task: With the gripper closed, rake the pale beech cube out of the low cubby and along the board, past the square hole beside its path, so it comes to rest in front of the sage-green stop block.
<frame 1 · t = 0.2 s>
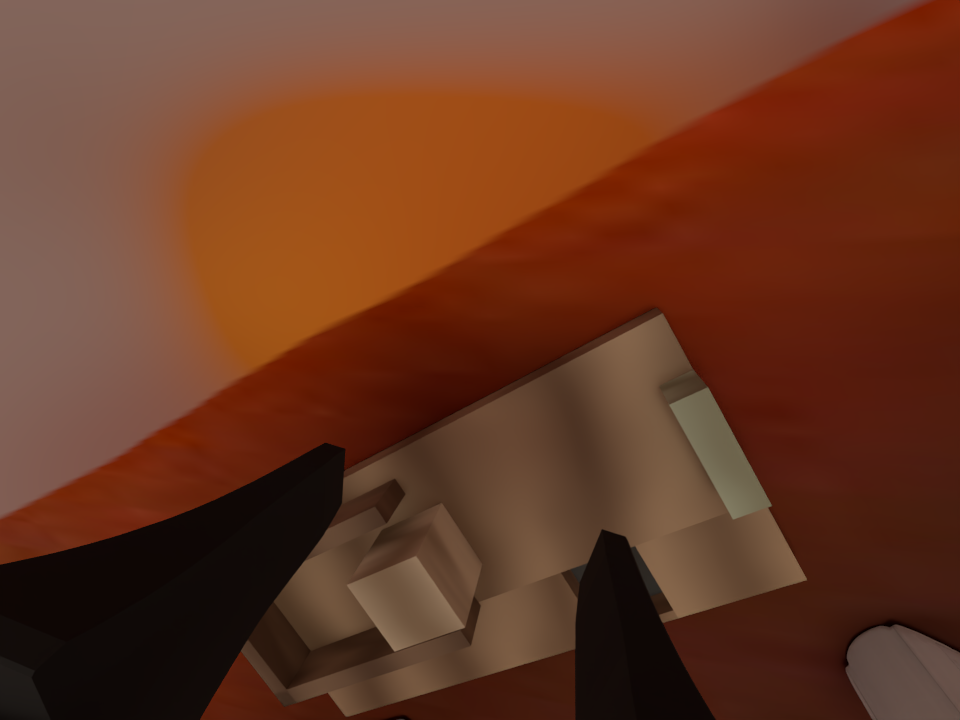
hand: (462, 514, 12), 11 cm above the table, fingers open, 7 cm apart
cube: (431, 546, 24), point 1 cm above the table, touching board
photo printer: (946, 681, 22), on the table
board: (490, 535, 25), on the table
cubby: (378, 555, 27), resting on board
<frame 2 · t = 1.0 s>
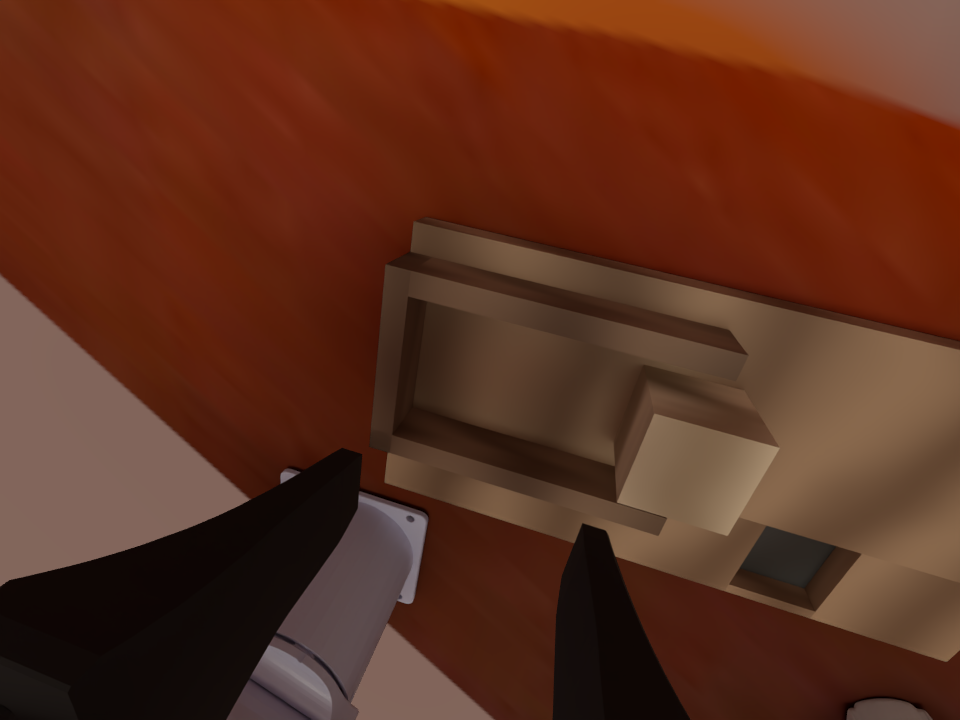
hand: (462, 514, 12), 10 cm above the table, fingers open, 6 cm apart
cube: (675, 417, 19), point 1 cm above the table, touching board
board: (713, 442, 21), on the table
cubby: (572, 374, 21), resting on board
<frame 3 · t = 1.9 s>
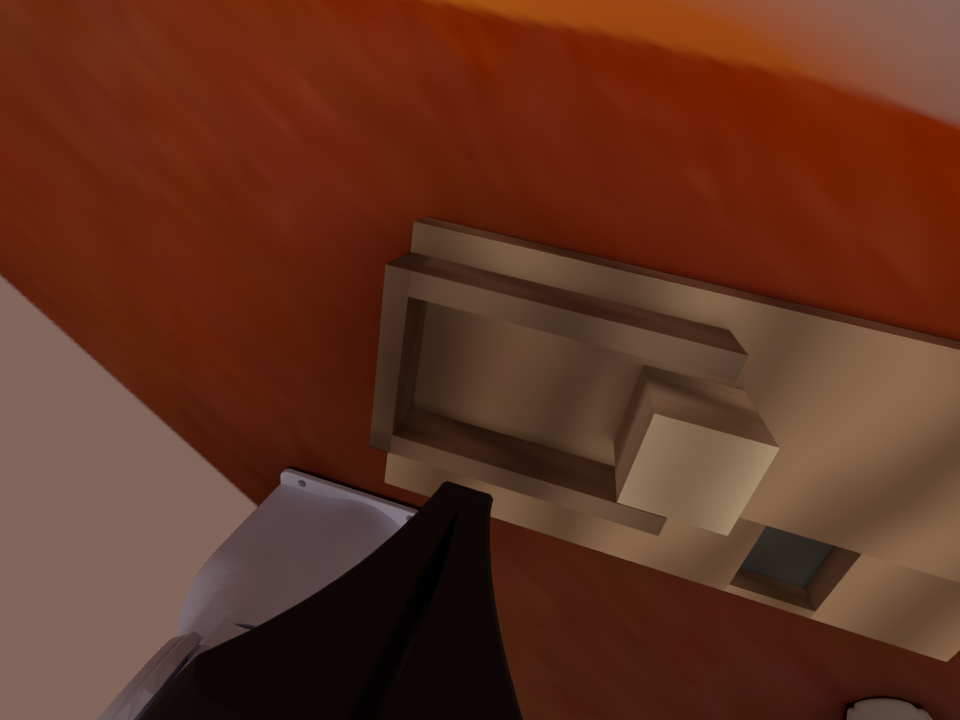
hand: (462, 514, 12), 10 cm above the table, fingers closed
cube: (675, 417, 19), point 1 cm above the table, touching board
board: (713, 442, 21), on the table
cubby: (572, 374, 21), resting on board
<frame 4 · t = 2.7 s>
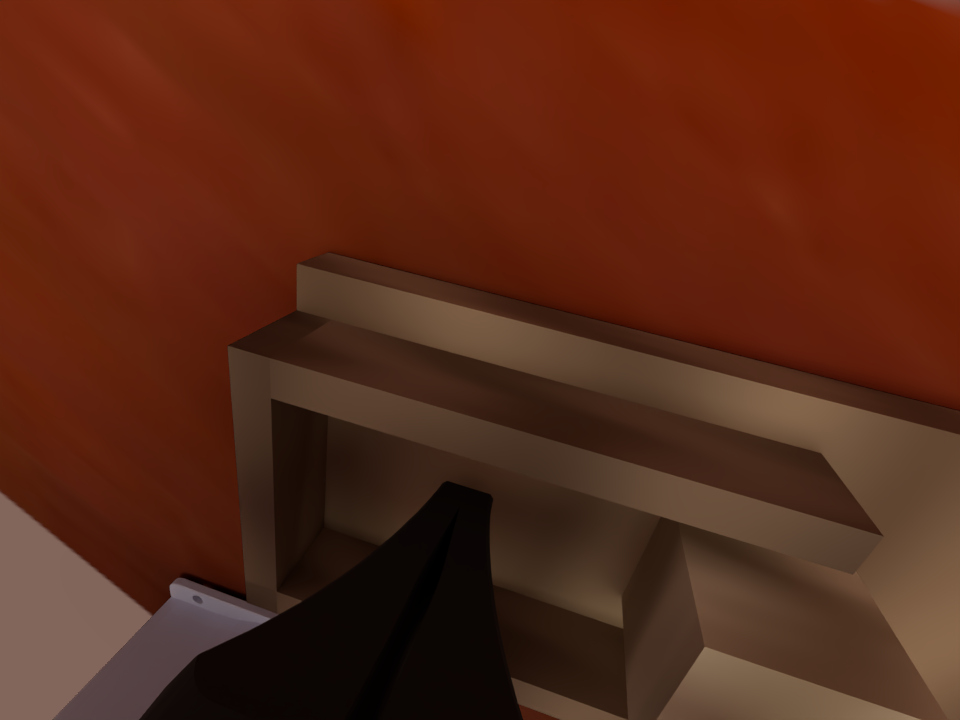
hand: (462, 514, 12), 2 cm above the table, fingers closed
cube: (720, 573, 12), point 1 cm above the table, touching board
board: (772, 592, 14), on the table
cubby: (559, 486, 14), resting on board
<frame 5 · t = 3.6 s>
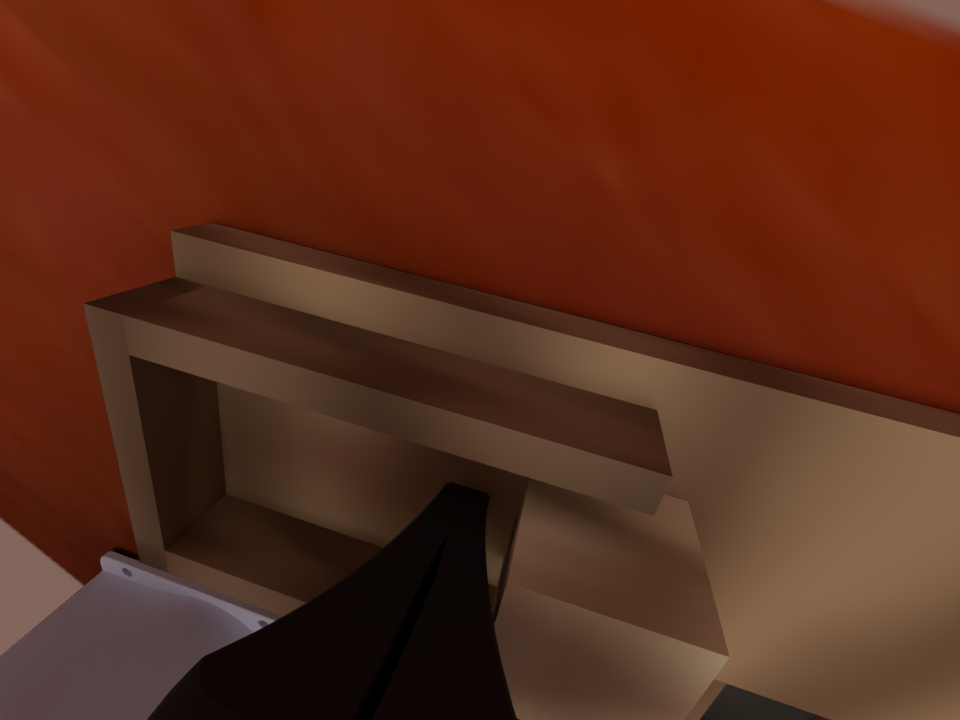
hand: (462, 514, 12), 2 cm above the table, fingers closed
cube: (587, 533, 13), point 2 cm above the table, touching gripper
board: (650, 555, 14), on the table
cubby: (447, 453, 15), resting on board
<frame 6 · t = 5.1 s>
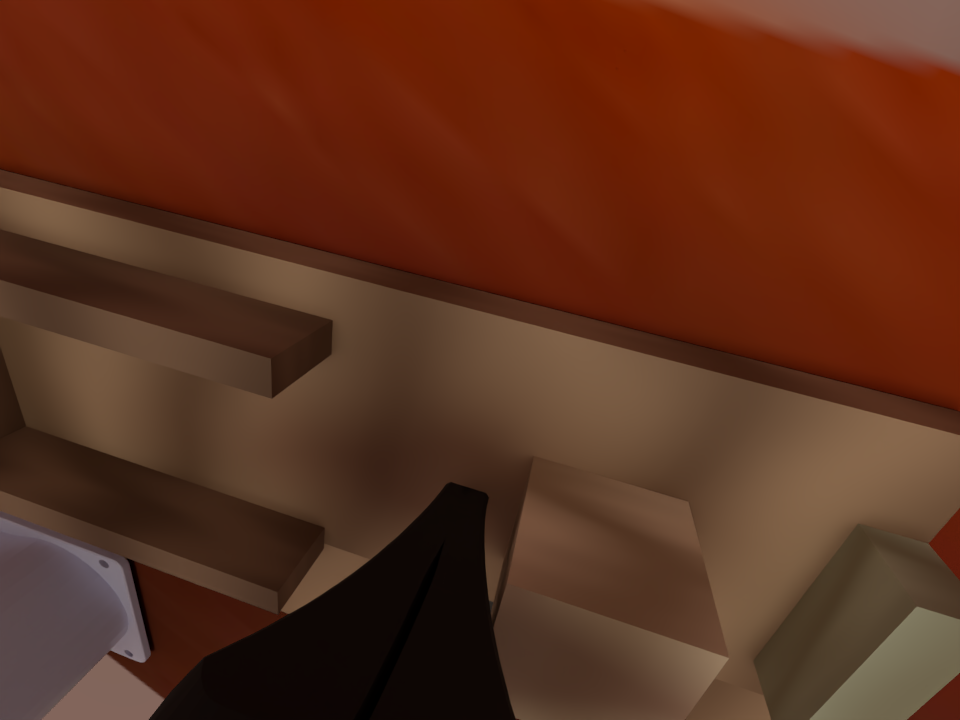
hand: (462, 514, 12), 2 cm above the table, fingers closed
cube: (587, 533, 13), point 1 cm above the table, touching board, gripper
board: (403, 476, 15), on the table
cubby: (218, 383, 16), resting on board
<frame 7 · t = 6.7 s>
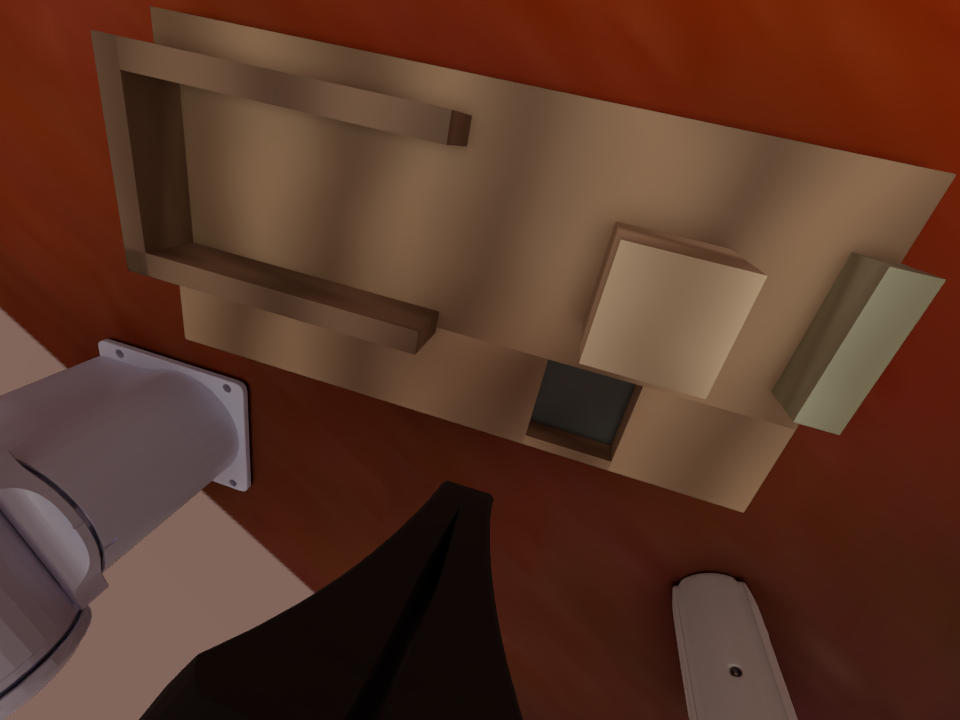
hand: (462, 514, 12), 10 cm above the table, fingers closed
cube: (651, 288, 17), point 1 cm above the table, touching board
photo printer: (721, 634, 25), on the table
board: (499, 275, 20), on the table
cubby: (353, 202, 20), resting on board
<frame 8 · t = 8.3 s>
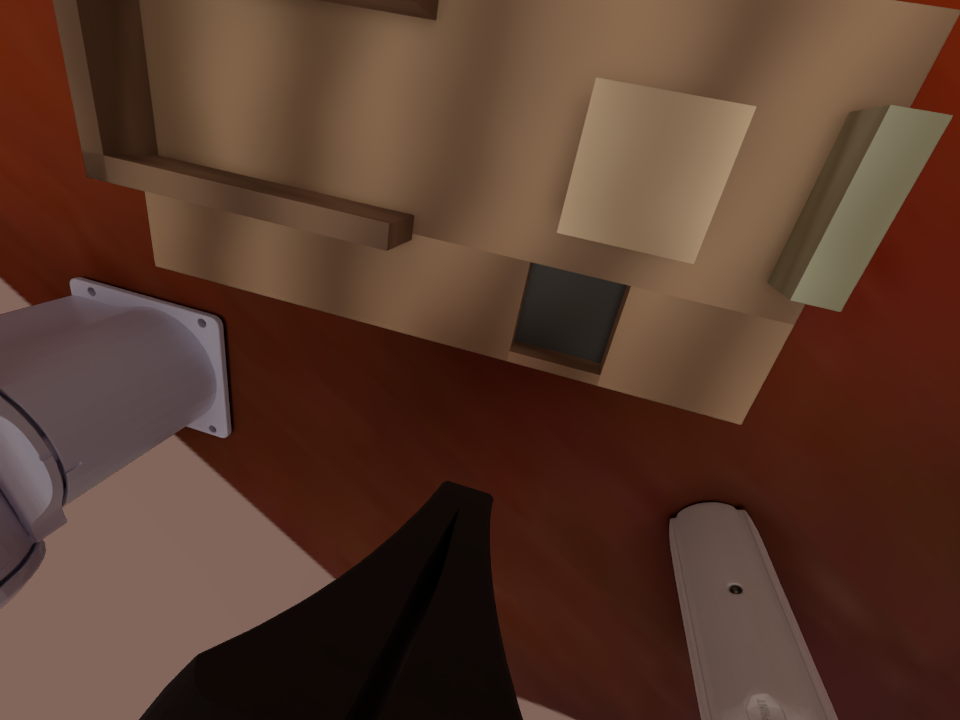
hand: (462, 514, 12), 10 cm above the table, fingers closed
cube: (636, 171, 16), point 1 cm above the table, touching board
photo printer: (722, 572, 24), on the table
board: (478, 178, 19), on the table
cubby: (323, 105, 19), resting on board
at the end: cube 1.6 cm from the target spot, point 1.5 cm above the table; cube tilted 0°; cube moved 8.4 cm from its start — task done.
